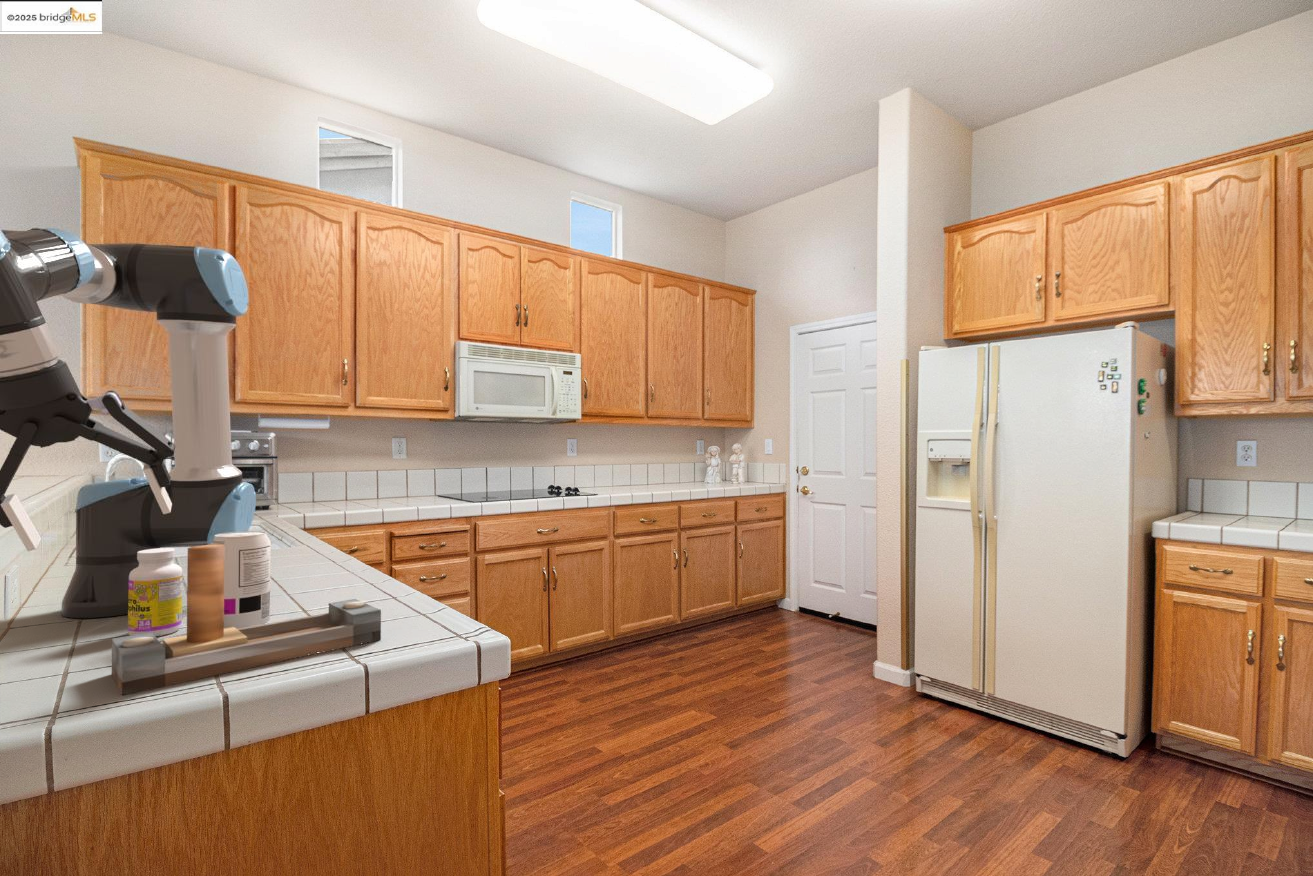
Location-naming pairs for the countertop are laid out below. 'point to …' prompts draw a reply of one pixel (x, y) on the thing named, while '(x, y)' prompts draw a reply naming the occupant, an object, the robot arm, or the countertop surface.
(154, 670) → the track
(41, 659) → the countertop surface
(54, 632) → the countertop surface
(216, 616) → the carriage
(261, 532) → the supplement can
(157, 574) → the supplement bottle
